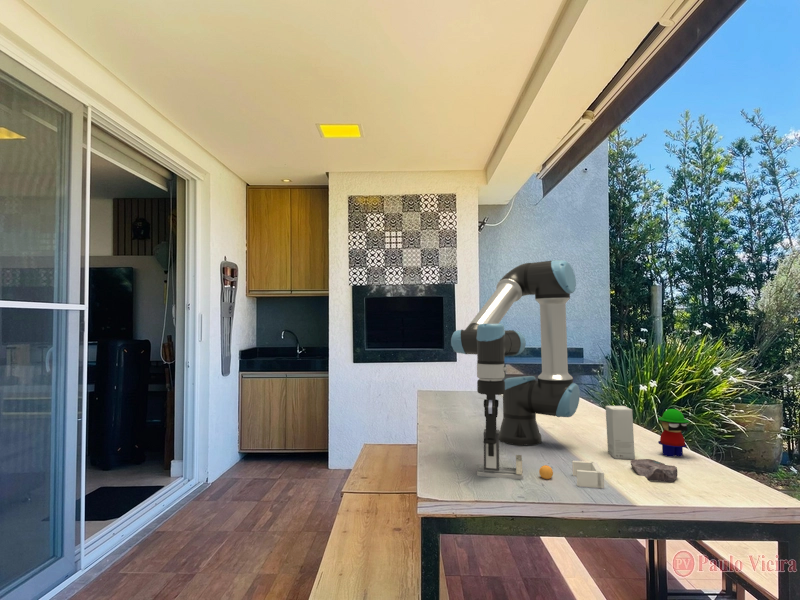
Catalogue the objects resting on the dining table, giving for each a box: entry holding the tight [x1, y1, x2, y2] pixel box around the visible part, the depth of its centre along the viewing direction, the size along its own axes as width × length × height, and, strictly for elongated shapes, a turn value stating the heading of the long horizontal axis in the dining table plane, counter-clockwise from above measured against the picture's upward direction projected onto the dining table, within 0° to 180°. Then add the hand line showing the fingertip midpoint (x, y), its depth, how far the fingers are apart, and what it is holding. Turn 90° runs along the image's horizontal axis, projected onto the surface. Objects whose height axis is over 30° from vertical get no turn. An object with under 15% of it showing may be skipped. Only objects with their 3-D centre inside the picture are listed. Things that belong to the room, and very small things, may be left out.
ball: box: [538, 465, 554, 480], centre depth 121 cm, size 4×4×4 cm
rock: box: [630, 458, 678, 483], centre depth 125 cm, size 8×11×5 cm
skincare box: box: [605, 405, 636, 460], centre depth 147 cm, size 8×7×16 cm
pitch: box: [476, 466, 524, 480], centre depth 122 cm, size 34×14×2 cm, turn 77°
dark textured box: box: [483, 428, 523, 475], centre depth 124 cm, size 10×6×12 cm, turn 77°
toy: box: [657, 408, 691, 458], centre depth 147 cm, size 9×9×15 cm
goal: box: [571, 460, 605, 489], centre depth 119 cm, size 6×10×4 cm, turn 166°
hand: (491, 464), depth 124 cm, fingers closed on dark textured box, 4 cm apart
